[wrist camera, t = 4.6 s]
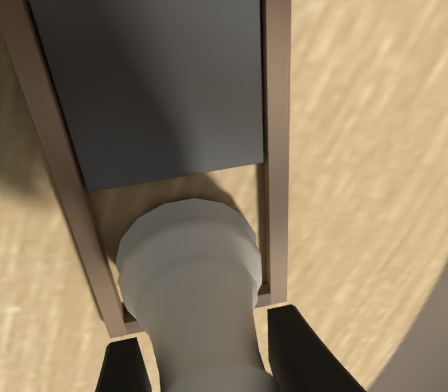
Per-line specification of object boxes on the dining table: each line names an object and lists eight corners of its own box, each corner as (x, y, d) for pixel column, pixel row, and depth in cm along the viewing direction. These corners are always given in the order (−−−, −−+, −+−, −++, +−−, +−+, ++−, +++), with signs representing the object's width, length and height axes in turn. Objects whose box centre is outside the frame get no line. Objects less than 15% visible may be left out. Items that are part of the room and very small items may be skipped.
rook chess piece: (214, 310, 16) (281, 593, 9) (94, 281, 14) (69, 610, 7) (278, 216, 14) (421, 481, 7) (151, 168, 12) (187, 464, 5)
